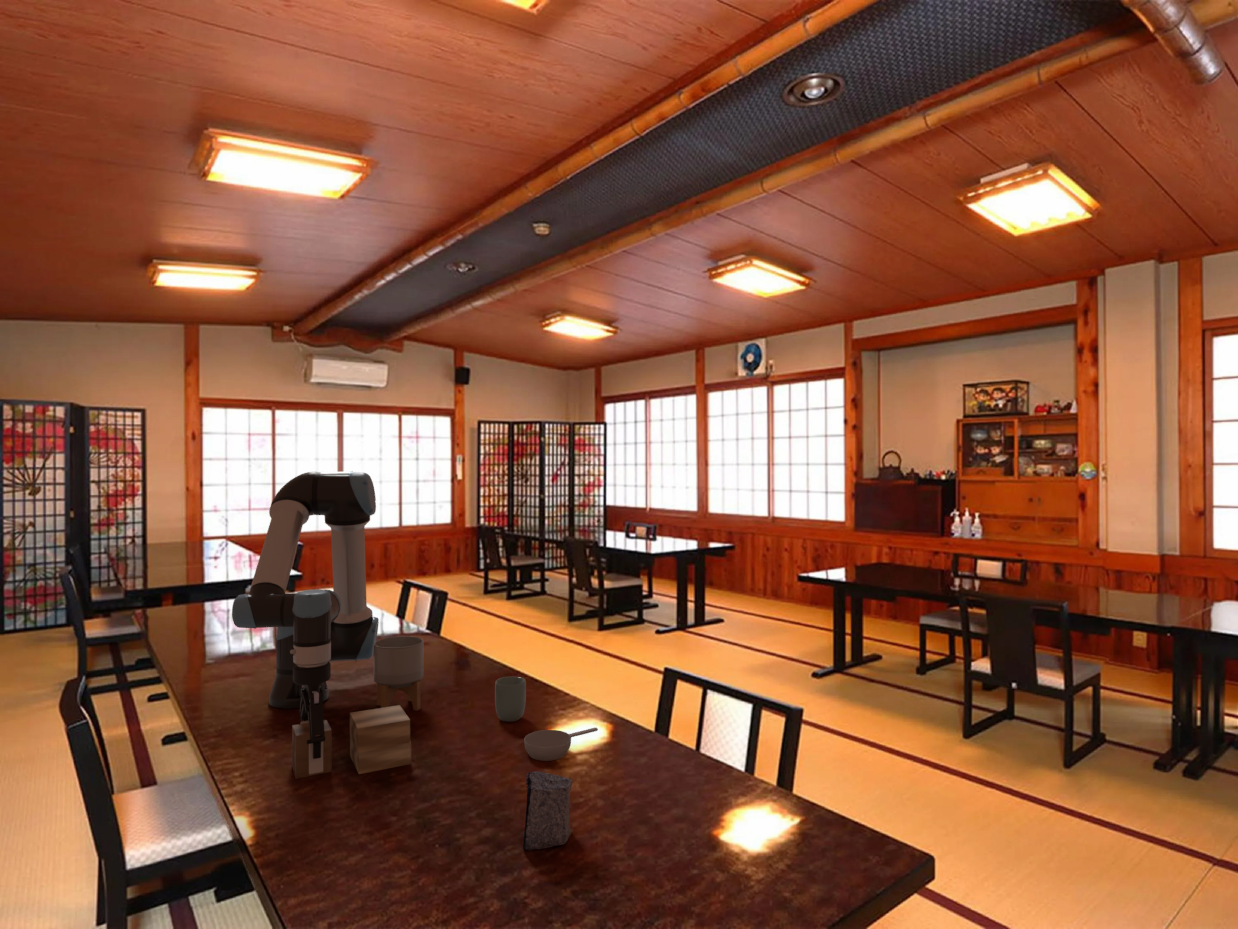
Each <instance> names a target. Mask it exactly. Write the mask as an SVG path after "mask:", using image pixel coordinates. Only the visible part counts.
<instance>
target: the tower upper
mask: <svg viewBox="0 0 1238 929" xmlns="http://www.w3.org/2000/svg"><path fill="white" fill-rule="evenodd" d="M350 736H351V738H352V741H353V743H354V745H355V747H356V749H357V751H358V752H359V751H365V750H371V749H376V748H382V747H387V746H393V745H399V744H404V743H410V741H411V718H409V716H408V715H407V714H406V712H405V710H404V708H402V706H401V705H400V704H398V705H390V706H389V707H384V708H381V707H379V708H373V709H371V708H370V709H366V710H365V709H364V710H359V711H354V712H353V711H352V712H349V737H350Z"/></svg>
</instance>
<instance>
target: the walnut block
mask: <svg viewBox="0 0 1238 929" xmlns="http://www.w3.org/2000/svg"><path fill="white" fill-rule="evenodd" d="M291 728H292V730H291V740H292V741H291V767H292V771H293V774H294V777H295V779H301V778H307V777H310V776H316V775H317V776H318V775H321V774H326V773H331V772H332V740H333V739H332V733H333V732H332V731H333V730H332V728H331V726H330V724H329V722H328V719H324V731H325V741H323V772H319V773H314V774H309V744H307V743H306V742H307V740H310V732H309V723H304V724H301V723H300V724H299V723H298V724H292V726H291ZM316 736H320V735H316ZM316 736H315V737H316Z"/></svg>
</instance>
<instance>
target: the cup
mask: <svg viewBox="0 0 1238 929" xmlns="http://www.w3.org/2000/svg"><path fill="white" fill-rule="evenodd" d="M526 700H527V682H526V679H525V678H524V677H521V676H503V677H499V678H498V679H496V680H495V684H494V703H495V706H494V707H495V713H496V716H497V717H498V719H500V720H501V721H503V722H507V723H508V722H511V723H512V722H517V721H518V720H520V719H521V718H522V717H523V715H524V713H525V709H526V702H527V701H526Z"/></svg>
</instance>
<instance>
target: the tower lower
mask: <svg viewBox="0 0 1238 929" xmlns="http://www.w3.org/2000/svg"><path fill="white" fill-rule="evenodd" d="M349 757H350V759H351V761H352V763H353V765H354V767H355V770H356V771H357V773H358V775H361V774H362V775H363V774H367V773H372V772H377V771H382V770H389V769H392V768H397V767H401V766H407V765H411V764H412V742H411V740H410V743H404V744H399V745H393V746H387V747H382V748H376V749H371V750H365V751H359V752H358V751H357V749H356V747H355V745H354V743H353V741H352V738H351V736H350V735H349Z"/></svg>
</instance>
